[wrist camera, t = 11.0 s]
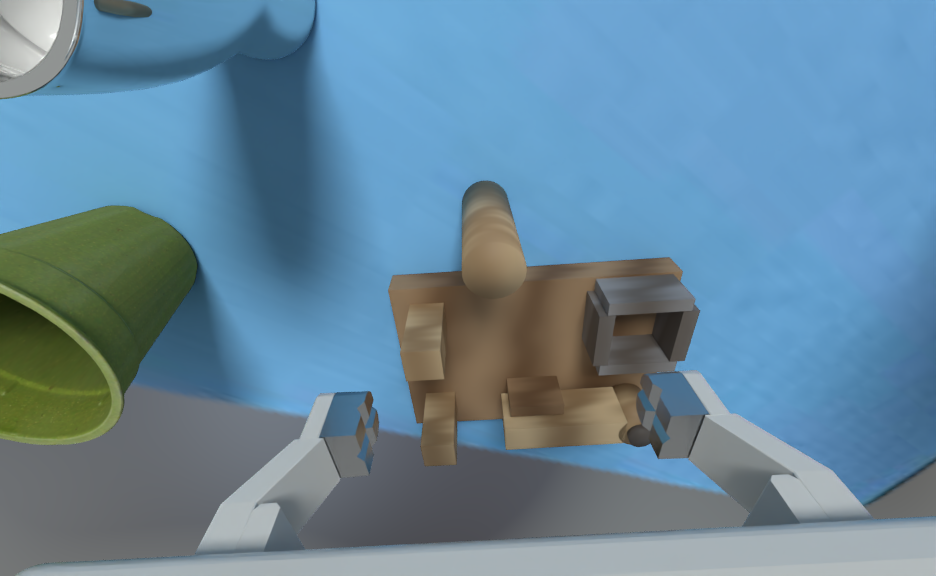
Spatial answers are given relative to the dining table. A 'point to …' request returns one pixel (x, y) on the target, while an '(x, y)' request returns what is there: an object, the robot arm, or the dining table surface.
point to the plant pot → (82, 318)
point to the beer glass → (137, 41)
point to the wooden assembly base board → (534, 340)
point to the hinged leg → (580, 420)
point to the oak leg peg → (490, 243)
